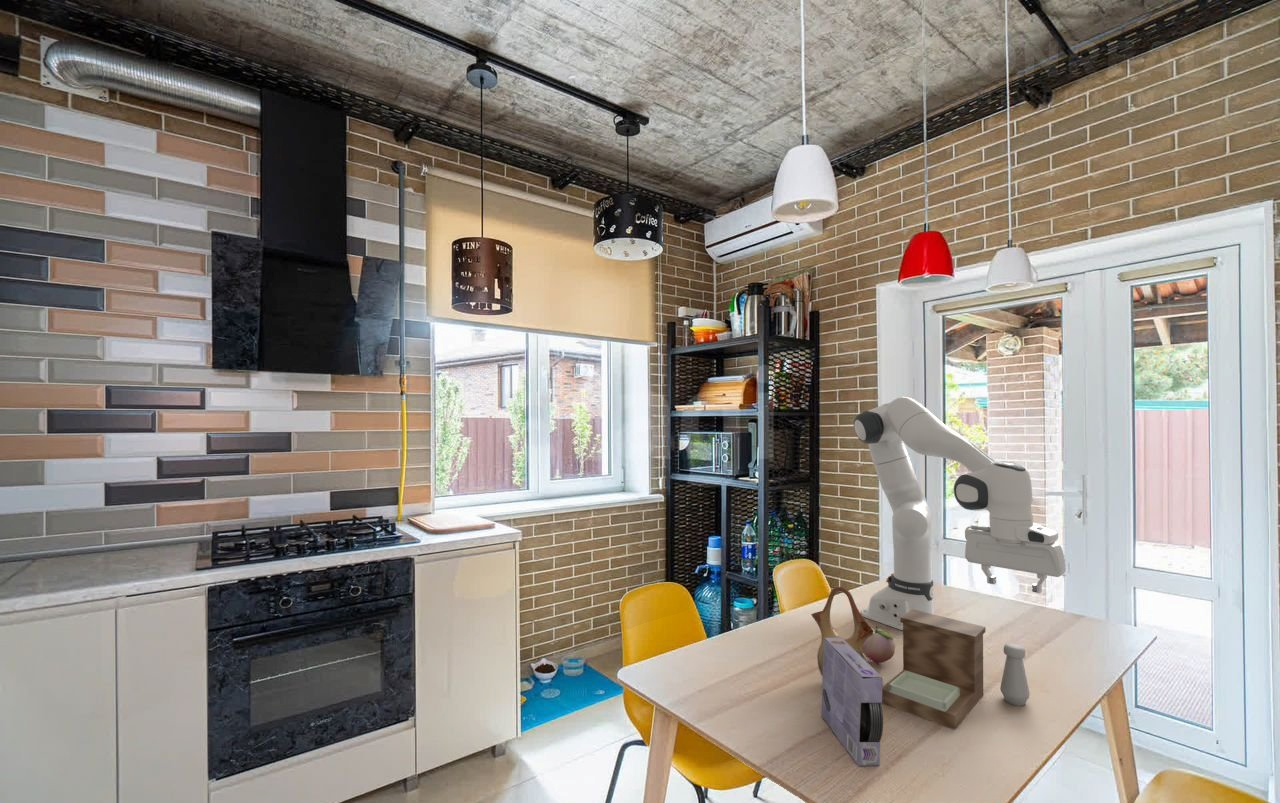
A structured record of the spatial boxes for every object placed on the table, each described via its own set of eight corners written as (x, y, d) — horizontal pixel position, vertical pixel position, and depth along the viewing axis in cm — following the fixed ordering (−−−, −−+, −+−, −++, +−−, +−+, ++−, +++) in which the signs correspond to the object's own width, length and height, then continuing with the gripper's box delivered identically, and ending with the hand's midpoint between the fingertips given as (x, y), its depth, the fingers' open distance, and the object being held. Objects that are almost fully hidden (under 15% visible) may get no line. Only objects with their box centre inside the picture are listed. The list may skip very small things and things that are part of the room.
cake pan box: (885, 770, 107) (885, 676, 107) (860, 771, 106) (860, 677, 107) (841, 715, 126) (841, 635, 126) (819, 716, 126) (819, 636, 126)
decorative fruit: (900, 663, 152) (900, 625, 152) (889, 673, 146) (889, 634, 146) (865, 652, 158) (865, 617, 158) (854, 662, 152) (853, 625, 152)
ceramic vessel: (801, 682, 141) (801, 582, 141) (822, 672, 147) (822, 575, 147) (863, 709, 128) (863, 599, 129) (883, 697, 134) (882, 591, 134)
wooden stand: (878, 701, 132) (878, 631, 132) (912, 671, 147) (912, 609, 147) (957, 730, 120) (957, 654, 120) (985, 694, 135) (985, 627, 135)
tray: (888, 692, 130) (888, 684, 130) (905, 677, 137) (905, 670, 137) (945, 712, 122) (945, 703, 122) (959, 695, 129) (959, 687, 129)
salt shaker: (1034, 709, 129) (1034, 652, 129) (1006, 706, 130) (1006, 649, 130) (1022, 696, 134) (1022, 641, 135) (996, 693, 136) (995, 639, 136)
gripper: (959, 525, 141) (961, 581, 141) (1058, 538, 125) (1060, 600, 125) (969, 522, 145) (971, 576, 145) (1066, 533, 129) (1068, 594, 129)
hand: (1013, 587), depth 135 cm, fingers open, 8 cm apart
